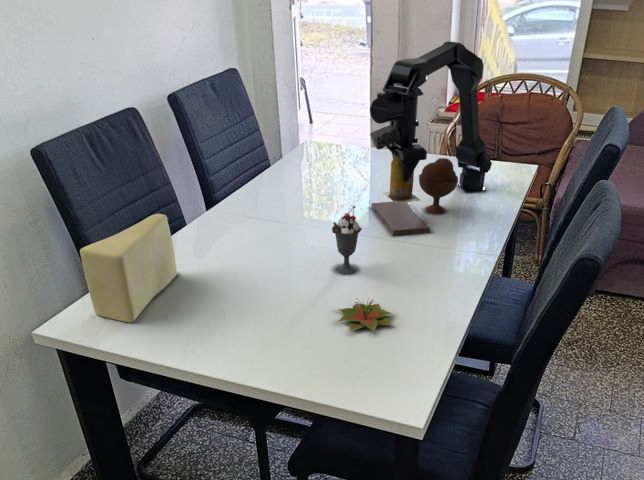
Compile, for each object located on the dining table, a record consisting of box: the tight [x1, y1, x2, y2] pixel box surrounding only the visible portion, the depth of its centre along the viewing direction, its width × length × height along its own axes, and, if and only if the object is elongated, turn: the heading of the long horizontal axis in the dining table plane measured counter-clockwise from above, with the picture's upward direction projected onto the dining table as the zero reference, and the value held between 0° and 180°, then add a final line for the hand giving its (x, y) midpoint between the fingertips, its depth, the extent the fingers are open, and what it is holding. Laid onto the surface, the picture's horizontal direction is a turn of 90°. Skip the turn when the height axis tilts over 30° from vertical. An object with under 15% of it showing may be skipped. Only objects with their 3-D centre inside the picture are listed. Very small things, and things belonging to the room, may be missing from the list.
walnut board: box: [371, 201, 431, 237], centre depth 176 cm, size 10×20×2 cm, turn 15°
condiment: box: [382, 149, 421, 203], centre depth 169 cm, size 7×8×12 cm
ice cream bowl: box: [418, 157, 459, 215], centre depth 179 cm, size 11×11×15 cm
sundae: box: [331, 205, 363, 275], centre depth 147 cm, size 7×7×15 cm
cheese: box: [79, 213, 178, 323], centre depth 134 cm, size 22×10×15 cm, turn 159°
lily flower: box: [337, 295, 394, 333], centre depth 130 cm, size 12×12×5 cm
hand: (401, 177), depth 170 cm, fingers closed on condiment, 6 cm apart
